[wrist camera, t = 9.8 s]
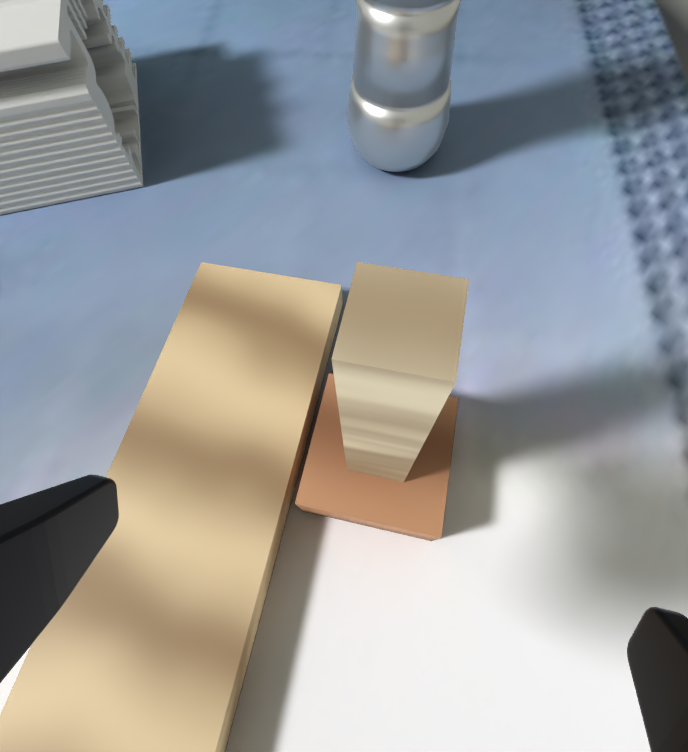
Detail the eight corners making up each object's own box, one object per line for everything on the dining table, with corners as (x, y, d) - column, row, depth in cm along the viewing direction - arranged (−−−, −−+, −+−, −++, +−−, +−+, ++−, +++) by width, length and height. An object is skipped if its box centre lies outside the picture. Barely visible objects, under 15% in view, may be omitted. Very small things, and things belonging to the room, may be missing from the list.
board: (212, 799, 15) (194, 827, 14) (20, 736, 16) (-18, 755, 15) (342, 304, 24) (341, 285, 22) (211, 282, 25) (201, 262, 23)
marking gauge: (431, 540, 19) (553, 500, 7) (302, 510, 20) (213, 427, 8) (448, 415, 21) (559, 226, 9) (332, 393, 22) (298, 190, 10)
